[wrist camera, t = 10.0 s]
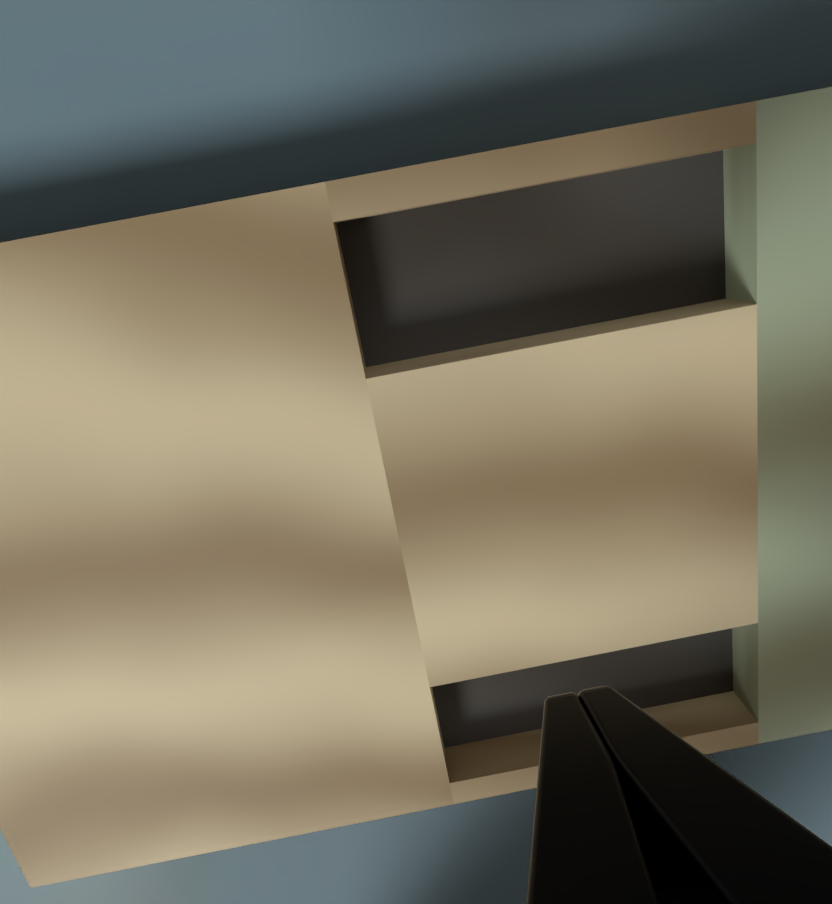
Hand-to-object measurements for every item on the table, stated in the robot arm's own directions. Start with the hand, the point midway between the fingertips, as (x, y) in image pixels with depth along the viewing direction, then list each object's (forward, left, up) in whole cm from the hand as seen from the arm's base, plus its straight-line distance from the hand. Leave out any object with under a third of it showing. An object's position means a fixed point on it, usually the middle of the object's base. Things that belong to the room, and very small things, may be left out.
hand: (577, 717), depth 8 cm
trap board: (0, -1, -8) cm, 8 cm away
